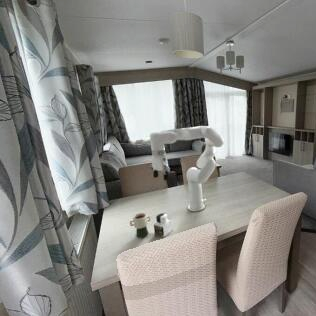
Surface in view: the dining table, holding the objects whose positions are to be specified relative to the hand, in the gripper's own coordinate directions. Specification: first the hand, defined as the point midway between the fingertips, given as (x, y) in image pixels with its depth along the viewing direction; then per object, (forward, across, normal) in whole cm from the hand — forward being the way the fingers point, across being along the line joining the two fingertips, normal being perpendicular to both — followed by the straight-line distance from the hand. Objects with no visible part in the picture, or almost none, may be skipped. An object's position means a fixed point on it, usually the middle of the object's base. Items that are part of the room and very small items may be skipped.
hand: (161, 178), depth 126 cm
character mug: (+31, -1, +18) cm, 35 cm away
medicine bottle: (+31, -10, +10) cm, 34 cm away
